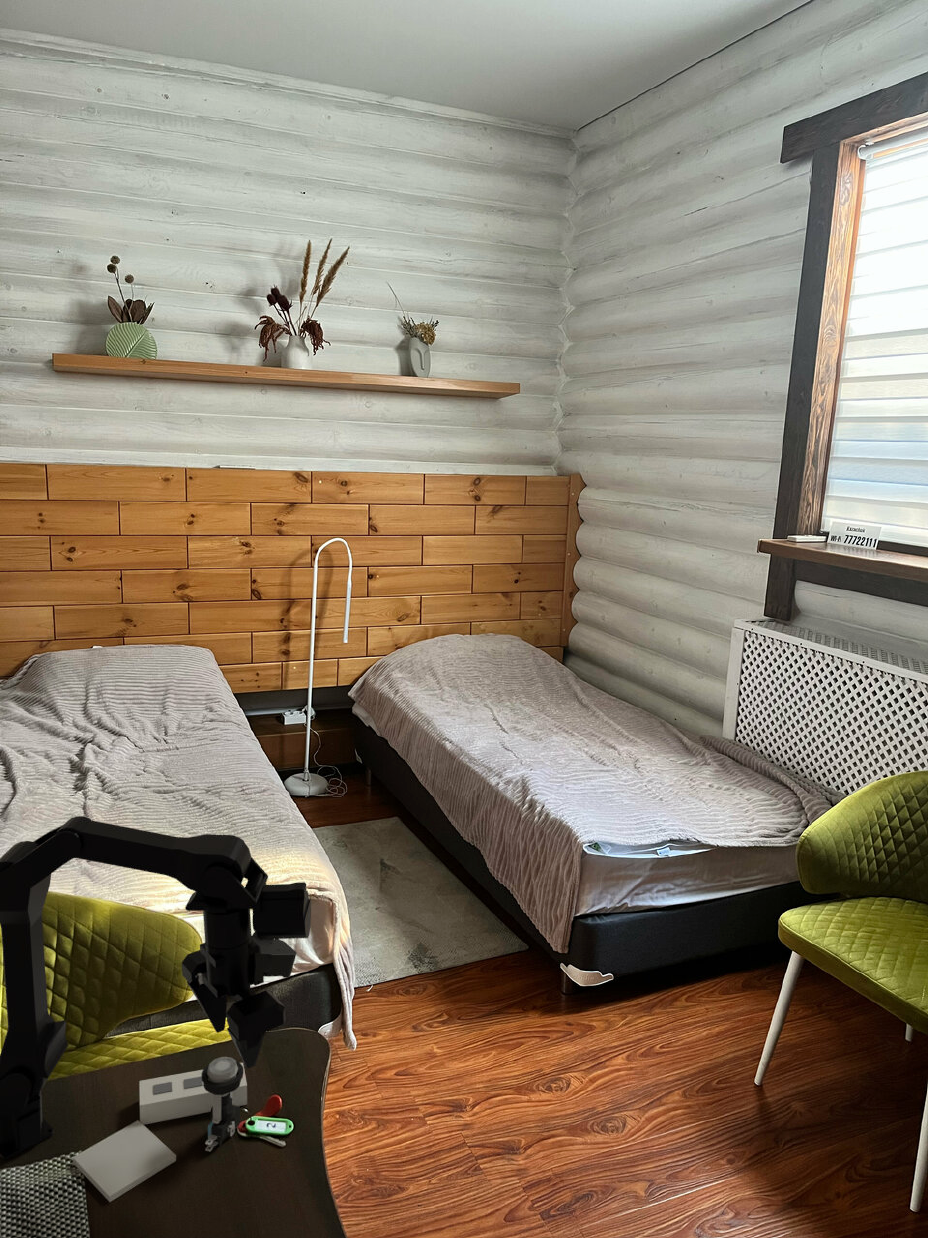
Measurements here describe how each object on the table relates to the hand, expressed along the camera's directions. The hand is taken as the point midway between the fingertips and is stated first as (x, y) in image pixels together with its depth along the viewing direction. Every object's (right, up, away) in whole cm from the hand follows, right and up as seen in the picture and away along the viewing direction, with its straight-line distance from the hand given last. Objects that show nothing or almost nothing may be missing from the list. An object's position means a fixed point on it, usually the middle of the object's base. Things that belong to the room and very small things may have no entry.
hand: (235, 1048), depth 119 cm
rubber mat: (-13, -13, -2) cm, 19 cm away
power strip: (-8, -12, +9) cm, 16 cm away
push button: (-3, -13, +3) cm, 14 cm away
